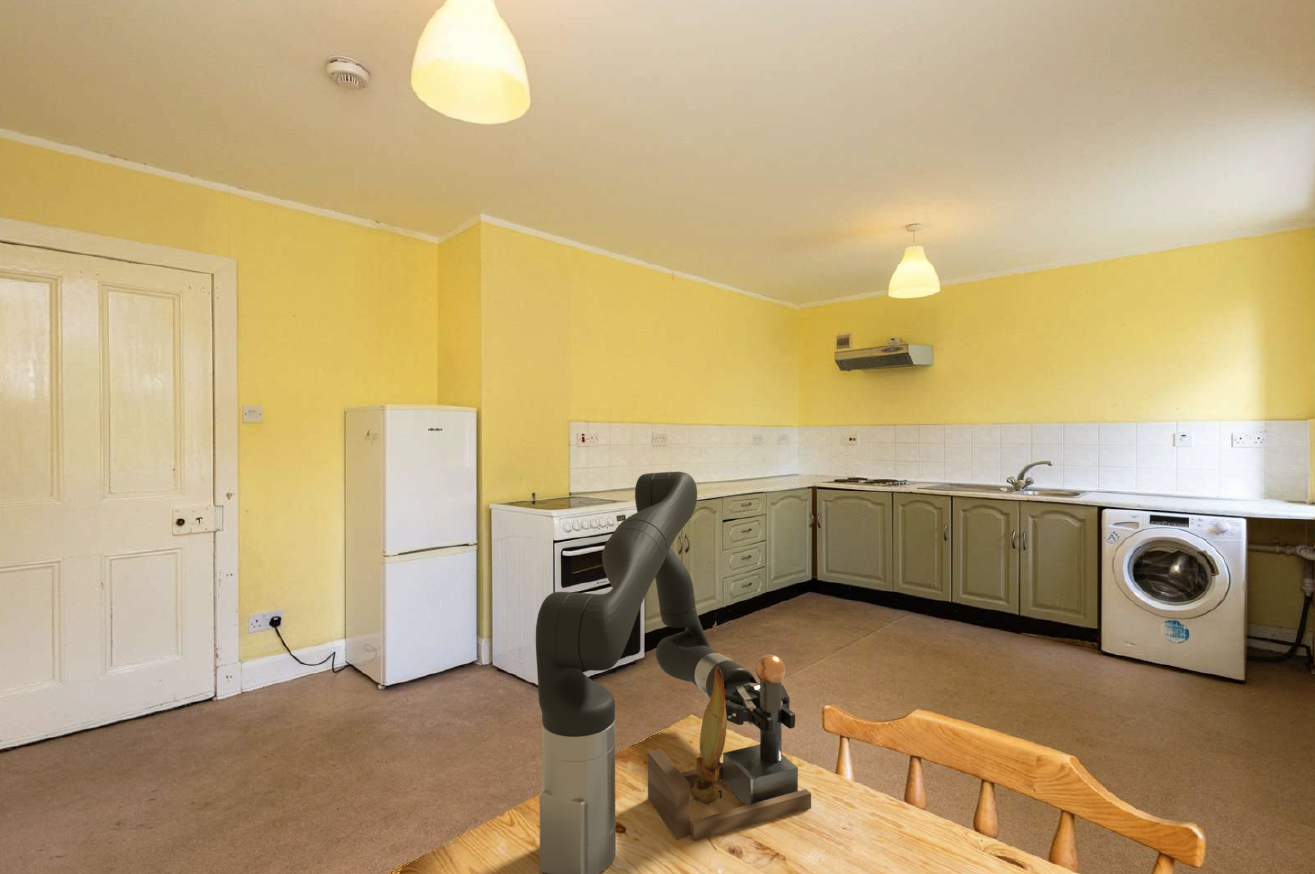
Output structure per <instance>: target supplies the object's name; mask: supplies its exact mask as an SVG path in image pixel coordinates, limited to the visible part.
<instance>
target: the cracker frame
mask: <svg viewBox="0 0 1315 874" xmlns="http://www.w3.org/2000/svg"><path fill="white" fill-rule="evenodd" d="M698 778H699V777H698V775H697V770H696V768H694V769H690V770H687V771H682V772H681V771H680V770H679V768H677V767H676V765H675V764H674V763H673V762H672V761H671V759H670V758H669V757H668V756H667V755H666V753H665V752H664V751H663V750H662V749H661V748H657V749H652V750H647V800H648V801H649V802H650V804H651V805H652V807H653V808H654V810H655V811H656V812H657V814H658V815H659V817H660V819H661V820H662V822H664V825H665V826H666V827H667V828H668V829H669V831H670V833H671V835H672V836H673V837H674V838H675V840H681V839H683V838H687V837H690V838H691V839H692V840H693V842H696V841H699V840H703V839H706V838H709V837H713V836H717V835H720V834H723V833H726V832H730V831H733V830H737V829H741V828H744V827H747V826H751V825H755V824H758V823H761V822H765V821H768V820H772V819H775V818H779V817H783V816H785V815H788V814H793V813H796V812H799V811H800V812H801V811H804V810H806V809H810V808H812V793H811V792H810V791H809V790H808V789H807V788H804V789H801V790H798V791H797V792H793V793H790V794H786V795H782V796H779V797H775V798H771V799H768V800H764V801H760V802H757V803H753V804H749V805H743V806H739V807H735V808H732V809H728V810H725V811H720V812H717V813H713V814H710V815H706V816H703V817H699V818H696V819H692V820H691V790H690V789H692V788H691V787H693V788H694V786H695V782H697V780H698ZM719 779H721V780H719V781H718V782H721V781H723V762H721V765H720V769H719Z"/></svg>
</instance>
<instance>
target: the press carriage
mask: <svg viewBox="0 0 1315 874" xmlns="http://www.w3.org/2000/svg"><path fill="white" fill-rule="evenodd" d="M755 673H756V676H757V678H758V680H759V684H760V710H761V711H763V712H764V713H765V714H767V715H768V716H770V717H771V718H772V720H773V732H772V733H769V734H767V733H766V732H765V731H762V730H760V729H759V744H756V745H750V746H747V747H742V748H737V749H734V750H730V751H726V752H725V751H724V752H722V763H723V780H722V781H723V783H724V784H725V785H726V786H727V787H728V788H729V789H730V791H731V792H732V793H733V794H735V795H736V796H737V798H738V799H739V800H740V801H741V802H742V803H743V804H744V806H746V805H749V804H753V803H757V802H760V801H764V800H768V799H771V798H775V797H779V796H782V795H786V794H790V793H793V792H797V791H799V773H798V772H799V767H798V766H797V765H795V764H794V763H793V762H792V761H791V760H789V759H788V758H787V757H786V756H785V755H784V754H783V751H782V741H783V740H782V731H783V730H782V729H783V728H782V727H783V726H782V725H783V724H782V707H781V685H782V681H784V678H785V675H786V666H785V663H784V662H783V660H782V659H781V658H780V657H779V656H777V655H775V654H770V653H769V654H768V653H767V654H764V655H763V656H761V657H760V658H759V659H758V660H757V663H756V665H755Z"/></svg>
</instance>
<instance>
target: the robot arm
mask: <svg viewBox="0 0 1315 874" xmlns="http://www.w3.org/2000/svg"><path fill="white" fill-rule="evenodd" d="M634 499H635V507H636V513H633V514H631V515H629V516H628V517H627V518H625V519H624V520H623V521H622V522H621V523H620V524H619V525H618V526H617V527H616V528H615V530H614V531H613V533H612V534H611V535H610V537H609V538H608V539H607V541H606V542H605V545H604V548H603V550H602V556H601V557H602V566H603V570H604V573H605V575H606V578H607V580H608V582H609V584H610V586H611V587H612V588H611V589H610V591H608V592H606V593H588V592H576V591H575V592H573V591H572V592H571V591H555V592H552V593H550V594H549V595H547V596H545V599H544V600H543V601H542V603H541V605H540V608H539V610H538V614H537V617H536V624H535V653H536V654H535V655H536V656H535V657H536V658H535V659H536V670H537V671H536V672H537V675H536V676H537V692H538V694H537V695H538V703H539V708H540V711H541V723H542V724H541V726H542V728H541V732H542V733H541V734H542V737H541V738H542V746H541V748H542V749H541V751H542V752H541V757H542V758H541V759H542V760H541V761H542V762H541V763H542V765H541V766H542V767H541V768H542V770H541V771H542V773H541V774H542V775H541V777H542V779H541V780H542V782H541V783H542V792H541V793H540V794H539V797H538V799H539V800H538V801H539V803H538V804H539V808H538V809H539V815H538V816H539V819H538V821H539V826H538V827H539V871H540V872H541V873H545V874H601V872H604V871H605V870H607V869H608V867H610V866H611V865H612V863H613V861H614V860H615V857H616V845H617V844H616V843H617V842H616V702H615V698H614V696H613V694H612V693H611V691H609V690H608V689H607V688H606V687H604V686H603V685H601V684H599V683H598V682H595V681H594V680H592V679H591V678H590V677H588V675H586V674H585V673H584V672H583V670H584V671H594V672H595V671H596V672H598V671H599V672H600V671H608V670H610V669H612V668H614V667H615V665H616V664H618V661H619V660H620V659H621V657H622V655H623V654H624V651H625V649H626V646H627V644H628V641H629V639H630V636H631V634H632V631H633V628H634V625H635V622H636V619H637V616H638V615H639V611H640V608H641V606H642V604H643V602H644V599H645V597H646V596H647V594H648V591H649V589H650V587H651V585H652V584H653V582H654V580H655V584H656V590H657V600H658V604H659V605H658V607H659V614H660V618H661V622H662V623H663V625H665V626H666V627H669V628H685V630H684V631H681V632H678V633H674V634H673V635H669V636H665V637H664V638H662V639H661V640H660V641H659V642H658V644H657V646H656V648H655V656H656V661H657V663H658V666H659V667H660V668H661V670H662V671H663V672H664V673H666V674H667V675H668V676H670V677H673V678H674V679H677V680H682V681H684V682H688V683H689V682H690V683H693V685H695V687H697V688H699V690H700V691H701V692H702V693H703V695H705V696H706V697H707V699H709V700H710V699H711V696H712V692H713V687H714V679H715V669H716V667H718V666H719V667H720V670H721V673H722V676H723V681H724V690H725V708H726V714H727V715H726V716H727V722H729V723H732V724H735V725H738V726H742V725H744V724H745V722H747V723H748V724H749V725H751V726H752V725H754V726H755V727H757V728H758V729H759V731H760V730H762V731H765V732H766V733H767V734H769V733H772V732H773V720H772V718H771V717H770V716H768V715H767V714H765V713H764V712H763V711H761V710H760V683H758V682H757V680H756V679H755V677H754V675H753V673H752V672H750V670H748V669H746V668H745V667H743V666H742V665H740V664H739V663H737V662H736V661H735V660H733V659H731V658H730V657H727V656H726V655H723V654H721V653H720V652H718V651H717V650H715V649H713V648H712V647H710V646H711V645H710V642H709V639H708V637H707V635H706V633H705V631H704V629H703V626H702V624H701V621H700V617H699V615H698V612H697V606H696V598H695V591H694V584H693V581H692V577H691V574H690V572H689V571H688V569H687V568H686V566H685V564H684V563H683V562H682V560H681V559H680V558H679V557H678V555H677V554H676V553H675V551H674V550H673V548H672V545H673V543H674V541H675V540H676V539H677V537H678V535H679V534H680V532H681V531H682V529H683V528H684V527H685V526H686V524H687V523H688V522H689V521H690V519H691V518H692V516H693V514H694V512H695V509H696V507H697V506H696V505H697V500H698V488H697V483H696V482H695V479H694V478H693V477H692V476H691V475H690V474H689V473H688V472H683V471H665V472H663V471H662V472H649V473H643V474H641V475H640V476H639V477H638V478H637V480H636V483H635V488H634ZM790 702H791V698H790V696H789V694H788V692H787V690H786V689H785V687H784V685H783V684H781V707H782V725H783V726H785V727H787V728H788V729H795V728H796V727H795V726H796V713H795V712H794V711H792V710H791V709H790Z"/></svg>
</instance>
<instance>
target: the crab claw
mask: <svg viewBox="0 0 1315 874" xmlns="http://www.w3.org/2000/svg"><path fill="white" fill-rule="evenodd" d="M726 715H727V714H726V708H725V690H724V681H723V676H722V673H721V670H720V667H719V666H718V667H716V669H715V679H714V687H713V692H712V696H711V699H709V702H708V703H707V705H706V708H705V709H704V712H703V715H702V716H703V717H702V723H701V729H700V736H699V752H700V753H699V754H700V756H698V757H696V758H695V759H696V760H695V761H696V762H695V763H696V768H695V769H696V770H697V775H698V777H699V778H698V780H697V782H695V786H694V787H691V788H690V789H691V790H690V795H691V796H692V798H693V799H694V800H696V801H698V802H700V803H702V804H705V805H713V804H714V803H715V802H716V800H717V798H718V796H719V799H722V796H723V792H722V790H719V789H718V788H717V787H716V784H717V783H718V782H720V781H719V780H721V779H719V769H720V765H721V763H722V762H721V758H722V756H723V753H724V752H723V751H724V747H725V743H726V738H727V737H726V736H727V725H728V721H727V716H726ZM721 781H722V780H721Z"/></svg>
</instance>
